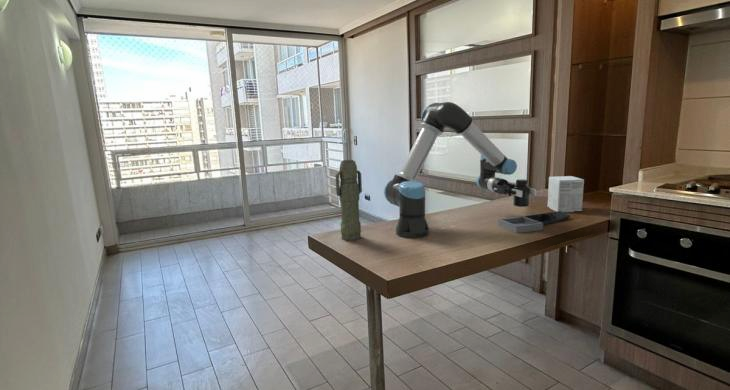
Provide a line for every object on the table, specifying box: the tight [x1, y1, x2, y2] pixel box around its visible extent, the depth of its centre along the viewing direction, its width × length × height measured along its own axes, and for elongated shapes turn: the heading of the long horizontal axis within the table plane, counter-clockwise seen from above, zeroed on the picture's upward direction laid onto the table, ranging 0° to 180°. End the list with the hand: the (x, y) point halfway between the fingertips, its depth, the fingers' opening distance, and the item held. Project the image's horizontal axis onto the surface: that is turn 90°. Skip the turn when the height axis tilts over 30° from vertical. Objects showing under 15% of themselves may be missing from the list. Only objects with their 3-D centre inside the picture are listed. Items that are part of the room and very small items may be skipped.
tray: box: [497, 215, 544, 234], centre depth 184 cm, size 14×14×3 cm
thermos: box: [335, 159, 363, 242], centre depth 174 cm, size 9×12×35 cm
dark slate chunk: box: [523, 211, 571, 226], centre depth 197 cm, size 15×22×5 cm
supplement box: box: [547, 175, 585, 213], centre depth 214 cm, size 13×13×18 cm
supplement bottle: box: [512, 178, 530, 208], centre depth 182 cm, size 7×7×12 cm
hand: (528, 193), depth 177 cm, fingers closed on supplement bottle, 7 cm apart
